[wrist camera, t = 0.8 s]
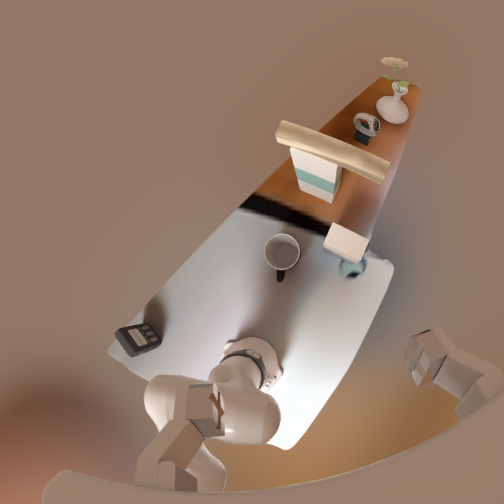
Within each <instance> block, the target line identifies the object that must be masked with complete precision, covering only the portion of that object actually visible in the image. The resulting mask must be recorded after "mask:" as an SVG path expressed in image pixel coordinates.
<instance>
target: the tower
mask: <svg viewBox="0 0 504 504" xmlns="http://www.w3.org/2000/svg"><path fill="white" fill-rule="evenodd" d="M290 152H291V156H292V160H293V163H294V167H295V171H296V175H297V179H298V183H299V187H300V190H302V191H304V192H306V193H309V194H311V195H313V196H316V197H318V198H320V199H322V200H325V201H327V202H329V203H331V204H332V203H333V201H334V199H335V196H336V194H337V192H338V190H339V185H340V179H341V174H342V168H343V167H341V166H339V165H336V164H334V163H332V162H329V161H327V160H324V159H322V158H319V157H317V156H314V155H312V154H309V153H307V152H304V151H301V150H299V149H296V148H293V147H291V148H290Z"/></svg>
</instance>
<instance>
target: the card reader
mask: <svg viewBox="0 0 504 504" xmlns="http://www.w3.org/2000/svg"><path fill="white" fill-rule="evenodd" d="M115 335H116V338H117V340H118V341H119V342H120V344H121V345H122V347H123V348H124V350H125V351H126V352H127V354H128V355H129V356H130V357H135V356H138V355H140V354H143V353H146V352H148V351H151V350H153V349H155V348H157V347H158V346H159V345H160V344H161V342H160V340H159V338H158V337H157V336H156V335H155V333H154V332H153V331H152V329H151V328H150V327H149V325H148V324H146V323H144V324H138V325H133V326H128V327H124V328H120V329H118V330H117V331H116V333H115Z"/></svg>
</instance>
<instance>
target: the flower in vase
mask: <svg viewBox="0 0 504 504" xmlns="http://www.w3.org/2000/svg"><path fill="white" fill-rule="evenodd" d="M381 61H382V62H383V63H384V64H386V65H389V66H393V67H394V68H396V67H397V68H407V67H408V65H407V64H408V63H407V62H402V61H403V59H395V58H394V57H391V58H388V57H387V58H384V59H381ZM381 77H384V78H386V79H388V80H394V81H395V78H394V77H395V69H394V76H393V78H394V79H392V78H390V77H388V76H385V75H382V76H381ZM410 83H411V82H410V81H406V80H401V81H399V82H396V81H395V82H394V83H393V84H392V88H393V89H394V96H384V97H381V98H380V99H379V100H378V101H377V104H376V108H377V111H378V113H379V115H380V116H381V117H382V118H383V119H385V120H386V121H388V122H390V123H393V124H401V123H404V122H405V121H407V119H408V117H409V112H408V108H407V106H406V105H405V103H404V102H403V101H401V100H400V98H401V96H402V95H403V94H406V93H407V92H408V88H407V86H408V85H409V84H410Z"/></svg>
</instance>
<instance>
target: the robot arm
mask: <svg viewBox="0 0 504 504" xmlns="http://www.w3.org/2000/svg"><path fill="white" fill-rule="evenodd" d="M408 344H409V346H408V347H407V348H406V349H405V352H404V361H405V364H406V366H407V368H408V369H410V370H412V371H413V373H412V376H413V379H414V380H415V382H416V384H417V386H418V387H419V386H422V385H424V384H426V383H428V382H431V381H433V380H434V381H433V382H435V383H436V384H438V385H439V386H441V387H442V388H444V389H445V390H447V391H448V392H450V393H451V394H453V395H454V396H456V397H457V398H459V399H460V400H461V402H460V403H459V404H458V405H457V407H456V409H455V411H456V413H457V415H458V417H459V419H460V421H459V422H458V423H456V424H455V425H453V426H451V427H449V428H448V429H446V430H444V431H443V432H441V433H439V434H437V435H436V436H433V437H432V438H430V439H428V440H426V441H424V442H422V443H420V444H418V445H416V446H414V447H412V448H409V449H407V450H405V451H403V452H400V453H398V454H396V455H393V456H391V457H389V458H386V459H384V460H381V461H378V462H376V463H373V464H370V465H367V466H364V467H361V468H358V469H355V470H352V471H349V472H346V473H342V474H339V475H335V476H331V477H327V478H324V479H320V480H315V481H311V482H306V483H300V484H295V485H290V486H283V487H276V488H270V489H261V490H250V491H235V492H224V488H225V483H226V478H227V473H226V470H225V468H224V466H223V464H222V463H221V462H220V461H219V460H218V459H217V458H215V457H214V456H213V455H211V454H210V453H209V452H208V450H207V449H206V447H205V445H204V440H205V438H210V439H214V440H218V441H222V442H226V443H231V444H236V445H263V444H265V443H267V442H268V441H269V440H270V439H271V438H272V437H273V436H274V435H275V434H276V432H277V430H278V428H279V425H280V421H281V414H280V409H279V406H278V404H277V402H276V400H275V399H274V398H273V397H272V396H271V395H268V394H266V392H267V391H268V390H269V389H270V388H271V387H272V386H273V385H274V384H275V382H276V381H277V380H278V379H279V378H280V377H281V376H282V370H281V369H280V367H279V365H278V358H277V354H276V352H275V350H274V348H273V347H272V346H271V345H270V344H269V343H268V342H266V341H265V340H263V339H260V338H257V337H247V338H244V339H241V340H239V341H237V342H228V343H226V344H225V347H224V350H223V354H222V358H221V361H220V363H219V365H217V366H216V367H215V368H214V369H213V370H212V371H211V372H210V374H209V377H208V381H204V380H199V379H195V378H190V377H186V376H181V375H158V376H156V377H155V378H153V379H152V380H151V381H150V383H149V384H148V386H147V388H146V390H145V394H144V404H145V408H146V410H147V413H148V414H149V415H150V416H151V418H152V420H153V421H154V423H155V424H156V426H157V428H158V430H159V434H158V435H157V436H156V437H155V438H154V440H153V441H152V442H151V443H150V444H149V445H148V447H147V448H146V449H145V450H144V451H143V452H142V454H141V455H140V456H139V457H138V460H137V468H136V477H135V486H132V485H126V484H121V483H116V482H111V481H106V480H103V479H98V478H94V477H91V476H87V475H84V474H81V473H77V472H74V471H71V470H63V471H61V472H60V473H58V474H57V475H56V476H55V477H54V478H53V479H51V480H50V481H49V482H48V483H47V484H46V486H45V488H44V491H43V497H42V504H504V376H503V375H502V373H501V372H500V370H499V369H498V367H497V366H496V365H494V364H491V363H489V362H487V361H485V360H483V359H480V358H478V357H476V356H474V355H472V354H470V353H467V352H465V351H463V350H461V349H459V350H457V349H456V347H455V346H454V344H453V343H452V342H451V340H450V339H449V338H448V336H447V335H446V334H445V333H444V331H443V330H442V329H441V327H439V326H436V327H434V328H431V329H429V330H426V331H423V332H421V333H419V334H416V335H414V336H411V337H410V338H409V340H408ZM274 376H277V377H276V378H275V377H274Z"/></svg>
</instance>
